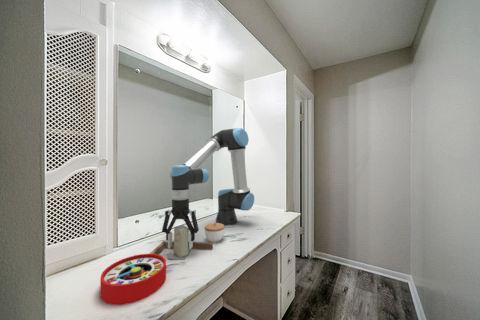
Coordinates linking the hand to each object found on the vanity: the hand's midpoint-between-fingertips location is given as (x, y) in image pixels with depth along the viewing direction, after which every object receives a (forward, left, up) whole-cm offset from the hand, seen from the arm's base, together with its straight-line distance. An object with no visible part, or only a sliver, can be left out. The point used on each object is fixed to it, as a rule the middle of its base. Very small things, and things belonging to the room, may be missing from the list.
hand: (180, 247), depth 87 cm
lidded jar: (-17, +12, -4) cm, 21 cm away
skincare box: (0, 0, -3) cm, 3 cm away
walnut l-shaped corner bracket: (+1, +1, -3) cm, 4 cm away
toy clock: (+21, -8, -4) cm, 23 cm away
